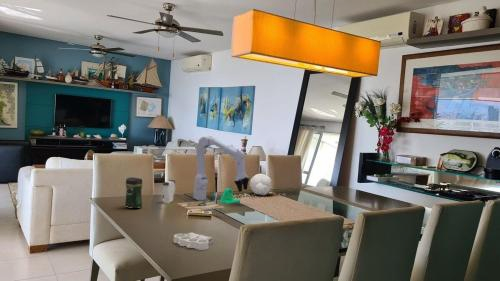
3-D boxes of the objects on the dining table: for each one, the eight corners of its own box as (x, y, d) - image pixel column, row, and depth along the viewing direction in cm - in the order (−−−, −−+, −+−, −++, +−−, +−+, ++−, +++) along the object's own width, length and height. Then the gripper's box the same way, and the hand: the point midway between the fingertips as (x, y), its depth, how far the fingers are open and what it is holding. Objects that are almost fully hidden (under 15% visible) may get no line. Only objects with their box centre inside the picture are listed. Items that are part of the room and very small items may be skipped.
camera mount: (228, 206, 250) (228, 190, 249) (219, 204, 255) (220, 189, 254) (240, 204, 258) (241, 188, 258) (232, 202, 264) (233, 187, 263)
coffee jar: (144, 208, 235) (145, 177, 234) (134, 210, 229) (135, 179, 227) (132, 205, 240) (133, 176, 239) (122, 208, 233) (123, 177, 232)
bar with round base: (185, 205, 239) (185, 201, 239) (203, 203, 246) (203, 199, 246) (189, 207, 235) (189, 203, 235) (207, 205, 242) (207, 201, 242)
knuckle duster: (218, 244, 175) (198, 253, 163) (188, 236, 184) (166, 244, 172) (219, 237, 175) (198, 245, 162) (188, 229, 184) (166, 237, 172)
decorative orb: (259, 191, 305) (260, 171, 304) (278, 194, 295) (279, 174, 294) (244, 194, 289) (244, 173, 288) (263, 198, 279) (264, 176, 278)
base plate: (177, 205, 245) (177, 199, 245) (207, 202, 257) (207, 196, 257) (191, 213, 228) (192, 206, 227) (224, 209, 240) (224, 203, 240)
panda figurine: (164, 201, 255) (164, 179, 254) (180, 203, 253) (181, 180, 252) (156, 205, 244) (156, 181, 243) (173, 207, 241) (173, 183, 240)
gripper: (241, 170, 242) (243, 192, 242) (251, 167, 255) (253, 188, 255) (231, 171, 245) (233, 192, 245) (241, 168, 258) (243, 188, 258)
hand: (243, 190), depth 250 cm, fingers open, 7 cm apart
